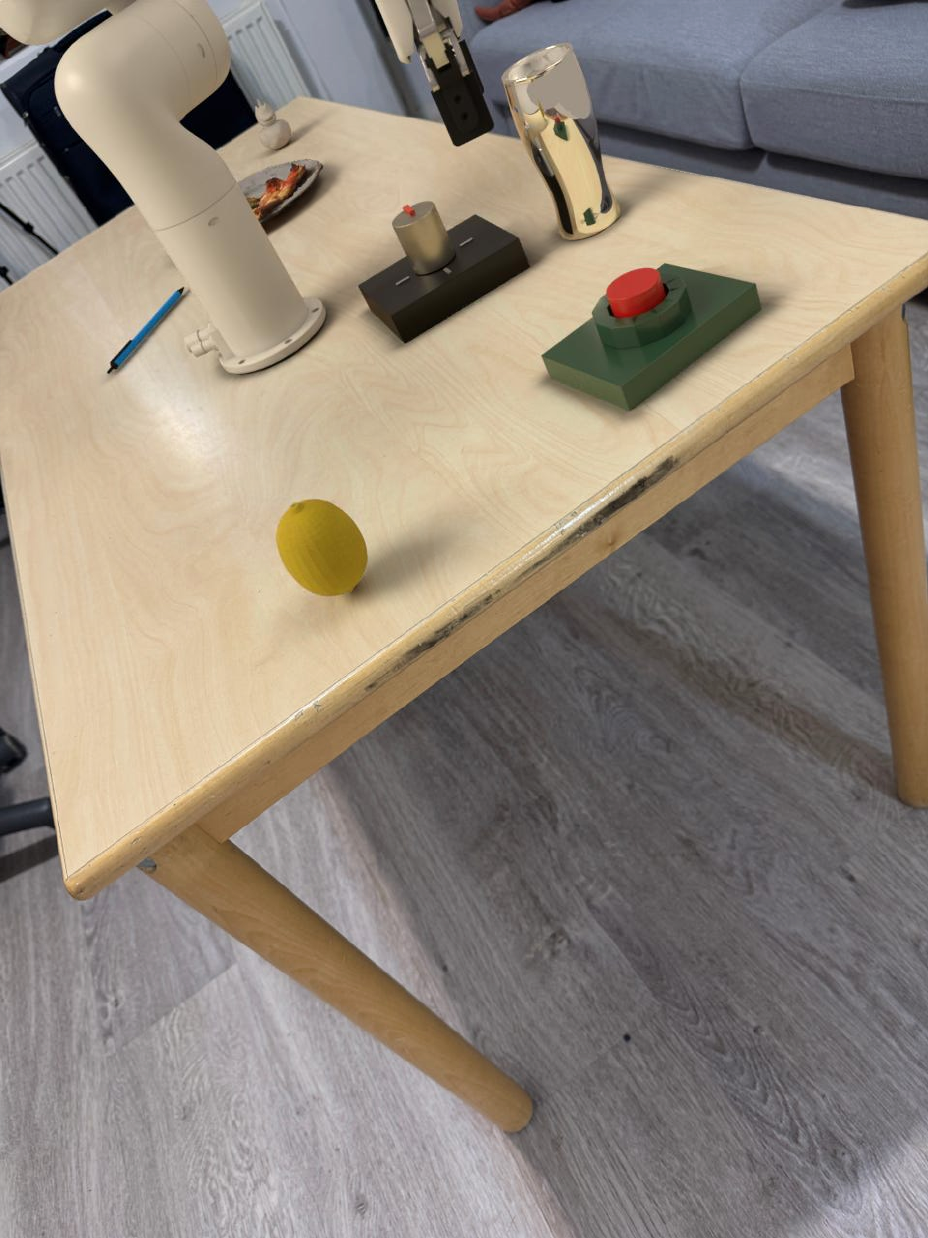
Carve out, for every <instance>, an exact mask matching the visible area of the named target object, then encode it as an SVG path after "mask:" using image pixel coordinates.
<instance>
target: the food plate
mask: <svg viewBox="0 0 928 1238" xmlns="http://www.w3.org/2000/svg"><path fill="white" fill-rule="evenodd" d="M323 169H324V164H322V163H321V162H320V161H318V160H313V159H311V158H303V159H301V160H300V159H298V160H293V161H287V162H284V163H282V164H281V163H279V164H275V165H272V166H267V167H266V168H263V169H261V170H258V171H256V172H253V173H251V174H250V175H248V176H246V177H243V178H242V179H241V180H238V181H236V182H237V183H238V185H239V187H240V189H241V190H242V192H243V194H244V196H245V198H246V199H247V201H248V203H249V205H250V206H251V208H252V210H253V212H254V213H255V215H256V217H257V219H258V221H259V222H260V224H261V225H263V224H264V223H266V222H267V221H268V220H270V219H271V218H274V217H276V216H277V215H280V213H282V212H283V211H284V210H285V209H286V208H287V207H288V206H290V205H291V204H292V203H293V202H294V201H295V200H297V199H298V198H299V197H300V196H301V195H303V193H305V192H307V191H308V190H311V187H312V186H313V185H314V184H315V182H317V180H318V178H319V176H320V173H321V171H322V170H323Z"/></svg>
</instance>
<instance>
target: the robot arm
mask: <svg viewBox="0 0 928 1238" xmlns="http://www.w3.org/2000/svg"><path fill="white" fill-rule="evenodd" d="M374 1H375V4H376V5H377V6H376V7H377V9H378V11H379V13H380V15H381V18H382V20H383V23H384V25H385V28H386V30H387V33H388V35H389V38H390V40H391V42H392V45H393V47H394V50H395V53H396V55H397V57H398V60H399V61H400V62H401V63H404V64H406V65H409V64H411V63H412V55H413V54H415V53H416V52H417V53H418V56H419V59H420V61H421V64H422V67H423V69H424V72H425V75H426V77H427V80H428V82H429V85H430V87H431V89H432V90H430V95H431V96H432V99H433V101H434V103H435V106H436V108H437V111H438V112H439V115H440V117H441V120H442V122H443V124H444V127H445V129H446V132H447V133H448V136H449V137H450V141H451V143H452V145H453V146H454V147H456V148H459V147H461V146H463V145H465V144H468V143H470V142H471V141H474V140H475V139H477V138H479V137H482V136H484V135H486V134H488V133H489V132H491V131H493V130H494V128H495V122H494V119H493V117H492V114H491V111H490V110H489V107H488V104H487V102H486V99H485V97H484V93H485V87H484V85H483V82H482V79H481V76H480V74H479V71H478V70H477V69H478V68H477V67H476V63H475V62H474V60H473V59H474V58H473V56H472V54H471V52H470V49H469V46H468V44H467V41H466V39H462V37H461V34H462V31H463V29H464V25H463V20H462V16H461V12H460V8H459V4H458V0H374ZM104 9H106V10H107V11H108V12H109V13H110V14H111V16H110V17H108V18H107V19H105V20H104V21H102V22H101V23H99V24H98V25H97V26H95V27H93V28H92V29H91V30H89V31H88V32H86V33H85V34H83V35H82V36H80V37H79V38H78V39H76V41H75V42H73V43H72V44H71V45H70V46H69V48H67V50H66V51H65V52H64V54H63V55H62V57H61V58H60V59H59V62H58V64H57V66H56V70H55V75H54V93H55V97H56V101H57V104H58V106H59V108H60V110H61V112H62V114H63V115H64V118H65V119H66V120H67V121H68V123H69V125H70V126H71V128H72V129H73V130H74V131H75V132H76V133H77V135H78V136H80V138H81V139H82V140H83V141H84V142H85V143H86V145H87V146H88V147H89V148H90V149H91V150H92V151H93V152H94V153H95V154H96V155H97V157H98V158H99V159H100V160H101V161H102V162H103V163H104V165H105V166H106V167H107V168H108V169H109V171H110V172H111V173H112V175H113V176H114V177H115V178H116V180H117V181H118V182H119V183H120V185H121V187H122V188H123V189H124V190H125V192H126V194H127V195H128V196H129V198H130V199H131V200H132V202H133V204H134V205H135V207H136V208H137V210H138V212H140V214H141V217H143V219H144V220H145V222H146V224H147V225H148V226H149V228H150V229H151V230H152V232H153V233H154V235H155V237H156V238H157V240H158V241H159V243H160V244H161V246H162V248H163V250H165V252H166V254H167V255H168V257H169V258H170V260H171V261H172V263H173V265H174V266H175V267H176V270H177V271H178V273H179V274H180V275H181V277H182V278H183V280H184V282H185V283H186V285H187V287H188V288H189V290H190V291H191V292H192V294H193V296H194V298H196V299H195V300H197V302H198V303H199V305H200V306H201V308H202V310H203V311H204V313H205V314H206V316H207V317H208V319H209V322H207V327H204V328H202V329H197V330H195V331H193V332H190V333H188V334H186V335H184V336H183V343H184V345H185V348H186V349H187V350H188V352H189V353H191V354H193V356H194V357H195V358H200V357H202V356H204V355H206V354H208V353H209V352H211V351H216V352H219V353H218V354H219V355H218V360H219V363H220V364H221V366H222V367H223V369H224V370H225V371H226V372H227V373H230V374H235V375H242V374H249V373H254V372H256V371H260V370H263V369H266V368H267V367H270V366H272V365H274V364H277V363H279V362H280V361H282V360H284V359H285V358H287V357H289V356H290V355H292V354H294V353H295V352H297V351H298V350H300V348H302V347H303V346H304V345H306V344H307V343H308V342H309V341H310V340H311V339H312V338H313V337H314V336H315V335H316V334H317V333H318V331H319V330H320V329H321V328H322V326H323V324H324V322H325V320H326V316H327V311H326V308H325V306H324V304H323V302H322V301H321V299H319V298H316V297H313V296H302V295H301V293H300V291H299V290H298V288H297V286H296V284H295V282H294V280H293V279H292V277H291V276H290V275H291V274H290V273H289V272H288V269H287V268H286V267H285V265H284V262H283V261H282V260H281V259H282V258H280V256H279V254H278V252H277V251H276V248H275V247H274V245H273V244H272V241H271V240H270V238H269V236H268V234H267V233H266V230H265V229H264V227H263V226H262V224H260V222H259V221H258V219H257V217H256V215H255V213H254V212H253V210H252V208H251V206H250V205H249V203H248V201H247V199H246V198H245V196H244V194H243V192H242V190H241V189H240V187H239V185H238V183H237V182H238V181H237V180H236V178H235V177H234V174H233V173H232V172H231V169H230V168H229V166H228V165H227V163H226V161H225V160H224V159H223V158H222V156H221V155H220V154H219V153H218V152H217V151H216V150H215V148H213V147H212V146H211V145H209V144H208V143H207V142H205V140H203V139H201V138H200V137H198V136H196V135H195V134H194V133H193V132H191V131H189V130H188V129H187V128H186V127H184V126H183V125H182V124H181V122H180V121H181V120H183V119H184V118H185V117H186V115H187V114H189V113H190V112H191V111H193V109H195V108H196V107H198V105H200V104H201V103H202V102H204V101H205V100H206V99H207V98H209V96H211V95H212V94H213V93H215V91H217V90H218V89H219V88H220V87H221V86H222V84H223V83H224V82H225V80H226V79H227V77H228V75H229V72H230V69H231V66H232V64H231V63H232V52H231V51H232V50H231V46H230V41H229V38H228V36H227V33H226V31H225V29H224V27H223V25H222V23H221V21H220V20H219V17H218V16H217V15H216V13H215V12H214V10H213V9H212V7H211V6H210V5H209V3H208V2H207V1H206V0H0V29H1V30H3V31H4V32H5V33H6V34H7V35H9V36H10V37H11V38H13V39H14V40H16V41H17V42H19V43H21V44H24V45H26V46H34V47H38V46H42V45H47V44H49V43H51V42H54V41H56V40H58V39H59V38H61V37H62V36H65V35H67V33H69V32H71V31H73V30H74V29H75V28H77V27H78V26H80V25H82V24H83V23H84V22H86V21H88V20H89V19H90V18H92V17H94V16H95V15H97V14H98V13H100V12H101V11H103V10H104ZM415 48H416V52H415Z"/></svg>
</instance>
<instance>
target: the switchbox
mask: <svg viewBox="0 0 928 1238" xmlns="http://www.w3.org/2000/svg"><path fill="white" fill-rule="evenodd" d="M655 269H656V270H657V271H659V273H660V277H661V280H662V283H663V287H664V290H665V293H666V297H665V300H664V301H663V302H662V303H660V304H659V305H658V306H656V307H655V308H654V309H652V310H650V311H648V312H645V313H643V314H640V315H638V316H635V317H627V318H616V317H615V316H614V315H613V312H612V310H611V307H610V304H609V301H608V298H607V295H606V293H605V294H603V296H601V297H600V298H599V299H598V301H597V302H596V304H595V306H594V307H593V308H592V309H593V310H592V311H591V316H592V317H590V318H589V319H588V320H586V321H585V322H584V323H582V324H581V325H580V326H579V327H577V328H576V329H574V330H573V331H572V332H570V333H569V334H568V335H566V336H565V337H563V339H561V340H560V341H558V342H557V343H556V344H554V345H553V346H552V347H550V348H549V349H548V350H547V351H545V352H543V353H542V354H541V359H542V361H543V363H544V366H545V368H546V371H547V373H548V376H549V378H550V379H551V380H553V381H556V382H558V383H561V384H563V385H566V386H568V387H570V388H573V389H575V390H577V391H579V392H582V393H585V394H587V395H590V396H592V397H594V398H597V399H600V400H602V401H604V402H607V403H608V404H611V405H614V406H616V407H619V408H621V409H623V410H626V411H628V412H632V411H633V410H634V409H635V408H636V407H638V406H640V404H642V403H643V402H644V401H645V400H647V399H649V398H650V397H651V396H652V395H653V394H655V393H656V392H657V391H658V390H660V389H661V388H662V387H664V386H665V385H666V384H667V383H669V382H670V381H671V380H672V379H674V378H675V377H677V376H678V375H679V374H681V373H682V372H683V371H684V370H685V369H687V368H688V367H689V366H690V365H692V364H693V363H695V362H696V361H697V360H699V358H701V357H702V356H704V355H705V354H706V353H708V352H709V351H710V350H711V349H712V348H714V347H716V346H717V344H719V343H720V342H721V341H724V339H725V338H726V337H728V336H729V335H730V334H732V333H733V332H734V331H736V330H737V329H738V328H740V327H741V326H743V324H745V323H746V322H747V321H748V320H750V319H751V318H752V317H753V316H755V315H756V314H758V313H759V312H760V311H761V310H762V305H761V300H760V296H759V291H758V287H757V284H756V283H755V282H751V281H747V280H744V279H743V280H742V279H737V278H733V277H730V276H729V277H728V276H724V275H719V274H715V273H712V272H711V273H710V272H708V271H707V272H706V271H702V270H698V269H693V268H688V267H684V266H680V265H675V264H671V263H666V262H664V263H663V264H661V265H660V266H659V267H657V268H655Z"/></svg>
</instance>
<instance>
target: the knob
mask: <svg viewBox="0 0 928 1238" xmlns="http://www.w3.org/2000/svg"><path fill="white" fill-rule="evenodd" d="M391 226H392V229H393V230H394V233H395V235H396V237H397V239H398V241H399V243H400V245H401V248H402V249H403V252H404V255H405V256H407V258H408V260H409V262H410V264H411V266H412V269H413V271H414V272H415V273H416V274H418V275H424V274H428V273H432V272H434V271H436V270H438V269H440V268H442V267H444V266H445V265H447V264H448V263H449V262H450V261H451V260H452V259H453V258H454V256H455V250H454V248H453V245H452V243H451V241H450V238H449V236H448V234H447V232H446V231H447V230H446V227H445V225H444V222H443V220H442V218H441V215H440V213H439V211H438V209H437V207H436V204H435V202H433V201H430V200H426V201H425V200H424V201H421V202H417V203H415V204H413V205H411V206H410V205H409V204H406V205H404V206H402V211H401V212H400V213H398V214H397V215H396V216H394V218H393V219H392V222H391Z"/></svg>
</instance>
